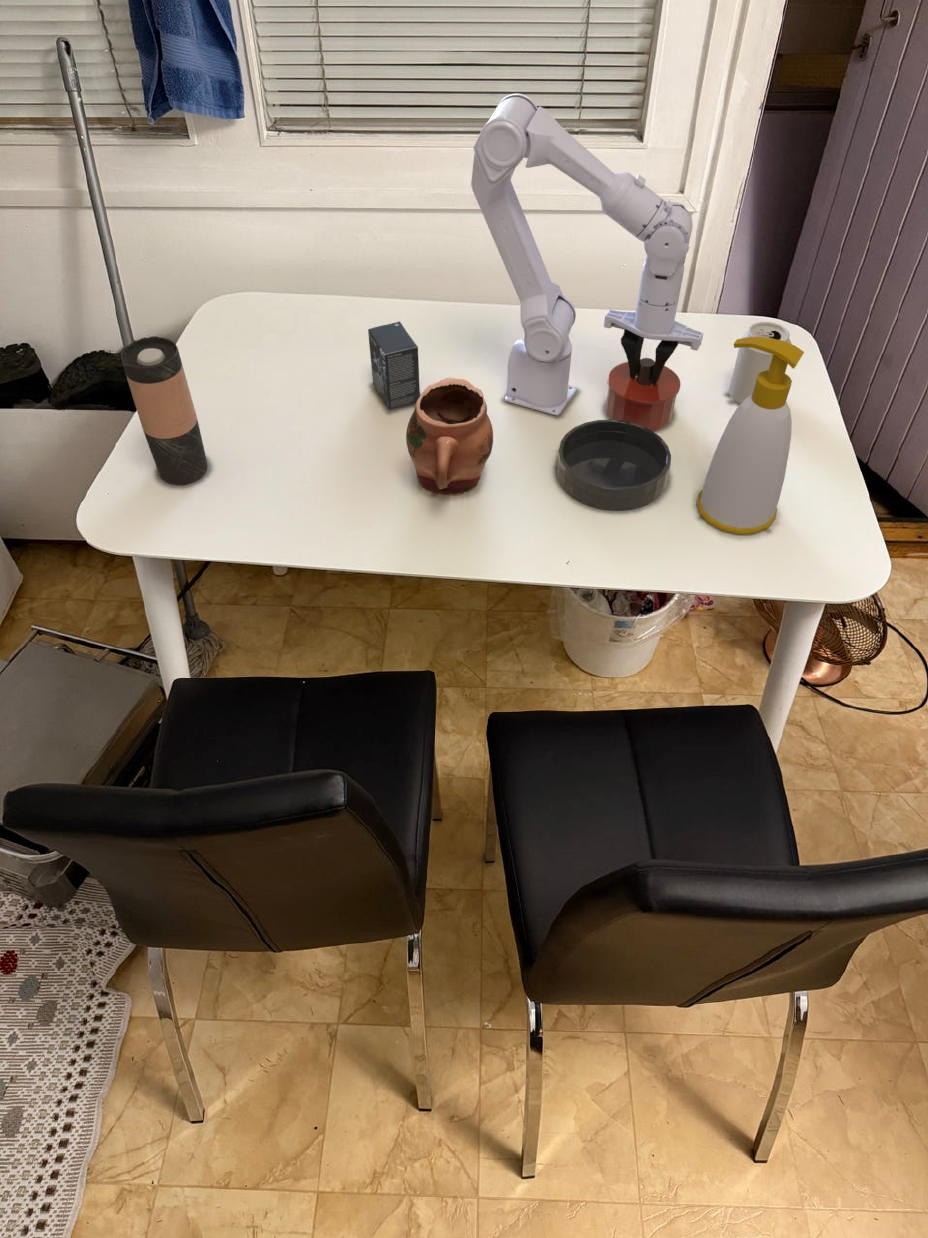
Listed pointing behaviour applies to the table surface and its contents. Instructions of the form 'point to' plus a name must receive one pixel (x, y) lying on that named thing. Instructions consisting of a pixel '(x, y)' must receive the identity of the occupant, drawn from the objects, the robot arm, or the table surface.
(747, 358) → the can
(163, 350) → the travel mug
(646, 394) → the lid
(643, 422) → the reddish brown bowl
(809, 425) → the table surface
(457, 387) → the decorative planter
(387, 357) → the box
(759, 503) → the soap bottle
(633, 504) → the pan
